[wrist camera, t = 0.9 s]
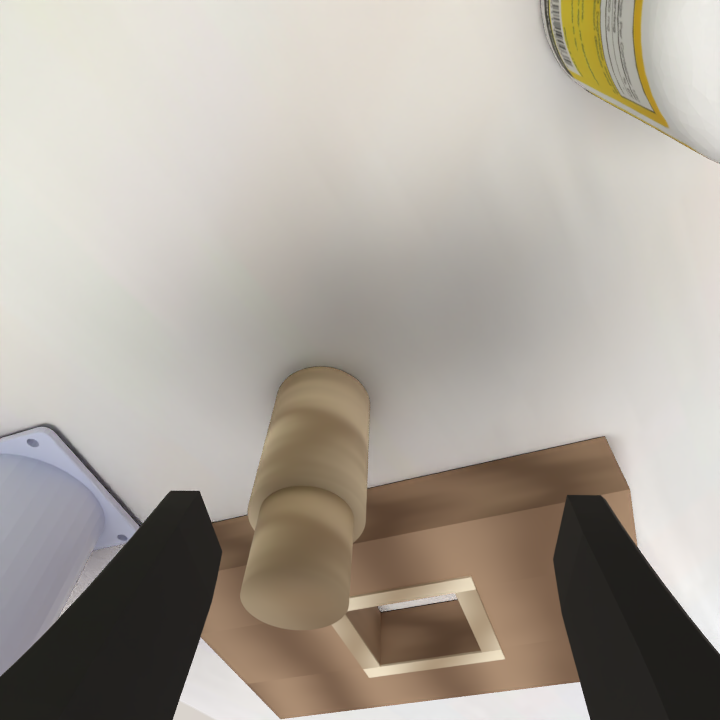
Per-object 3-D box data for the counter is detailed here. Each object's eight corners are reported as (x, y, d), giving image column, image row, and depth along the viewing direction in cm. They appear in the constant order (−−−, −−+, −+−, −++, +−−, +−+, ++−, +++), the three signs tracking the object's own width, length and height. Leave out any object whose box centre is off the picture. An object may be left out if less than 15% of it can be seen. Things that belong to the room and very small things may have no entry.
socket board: (287, 669, 37) (280, 720, 34) (169, 532, 29) (148, 586, 26) (632, 618, 32) (654, 674, 29) (604, 436, 24) (630, 491, 21)
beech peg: (299, 447, 25) (263, 645, 18) (260, 381, 23) (201, 574, 15) (382, 427, 24) (381, 626, 17) (350, 355, 22) (332, 547, 15)
